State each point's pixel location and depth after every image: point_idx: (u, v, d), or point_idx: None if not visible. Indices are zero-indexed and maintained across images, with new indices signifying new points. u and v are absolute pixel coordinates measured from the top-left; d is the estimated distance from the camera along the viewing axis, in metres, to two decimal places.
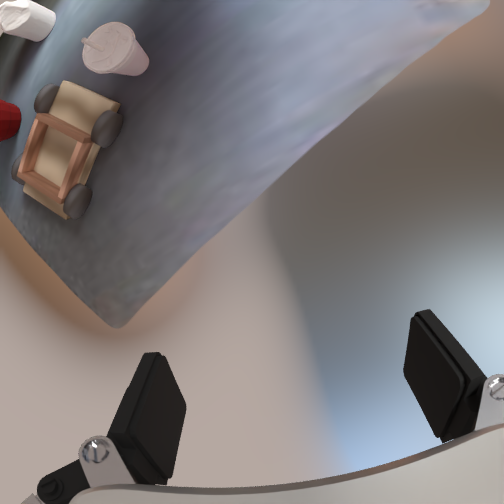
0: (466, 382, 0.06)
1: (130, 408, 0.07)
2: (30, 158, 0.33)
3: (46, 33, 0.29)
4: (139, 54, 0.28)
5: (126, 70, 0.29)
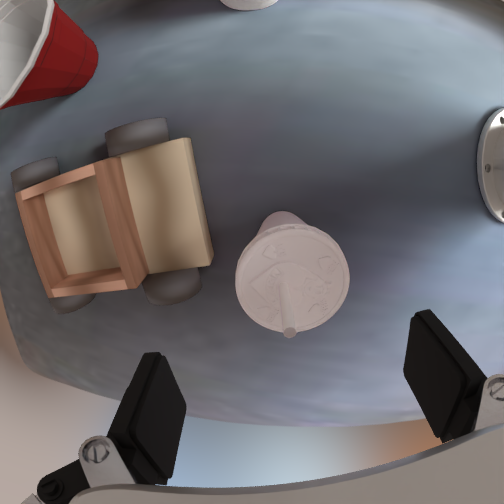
0: (466, 382, 0.06)
1: (130, 408, 0.07)
2: (47, 191, 0.20)
3: (241, 7, 0.18)
4: None
5: None
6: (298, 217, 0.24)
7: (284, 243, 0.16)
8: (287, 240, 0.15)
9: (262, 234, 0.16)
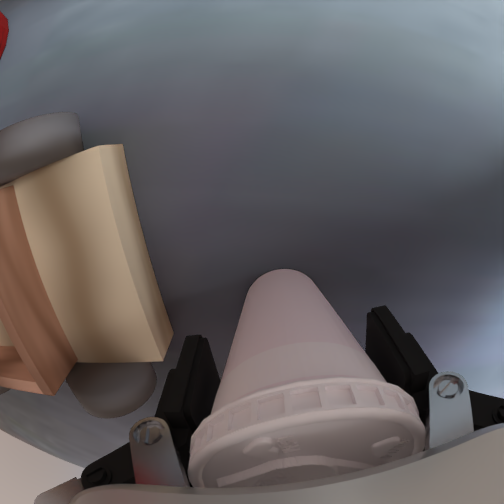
0: (411, 377, 0.07)
1: (181, 387, 0.08)
2: None
3: None
4: None
5: None
6: (312, 283, 0.13)
7: (299, 434, 0.05)
8: (307, 429, 0.05)
9: (243, 403, 0.06)
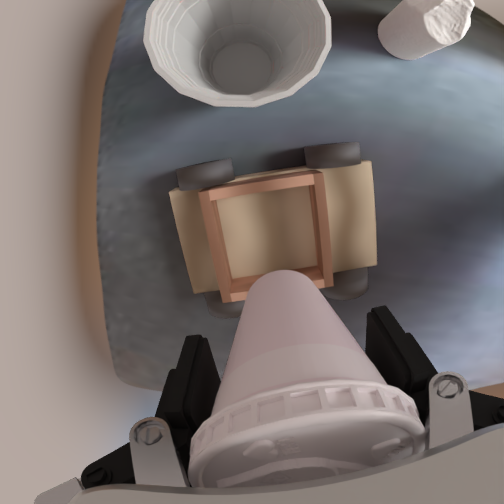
0: (411, 377, 0.07)
1: (181, 387, 0.08)
2: None
3: (400, 56, 0.22)
4: None
5: None
6: (312, 284, 0.13)
7: (299, 437, 0.05)
8: (307, 431, 0.05)
9: (243, 406, 0.06)
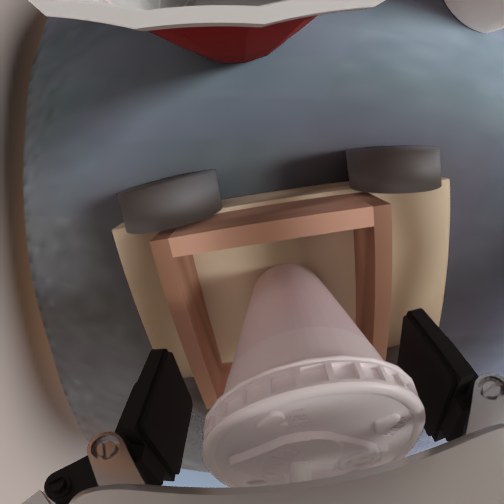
0: (456, 380, 0.06)
1: (139, 404, 0.08)
2: None
3: (472, 24, 0.11)
4: None
5: None
6: (315, 276, 0.14)
7: (308, 408, 0.06)
8: (315, 402, 0.06)
9: (256, 380, 0.06)
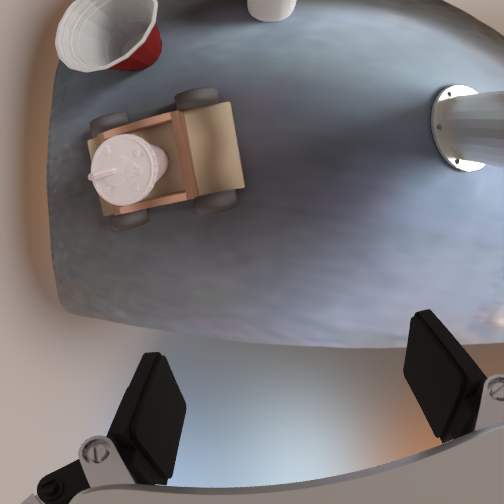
0: (466, 382, 0.06)
1: (130, 408, 0.07)
2: (125, 133, 0.30)
3: (265, 19, 0.28)
4: None
5: None
6: (160, 148, 0.31)
7: (113, 144, 0.23)
8: (115, 142, 0.23)
9: None
